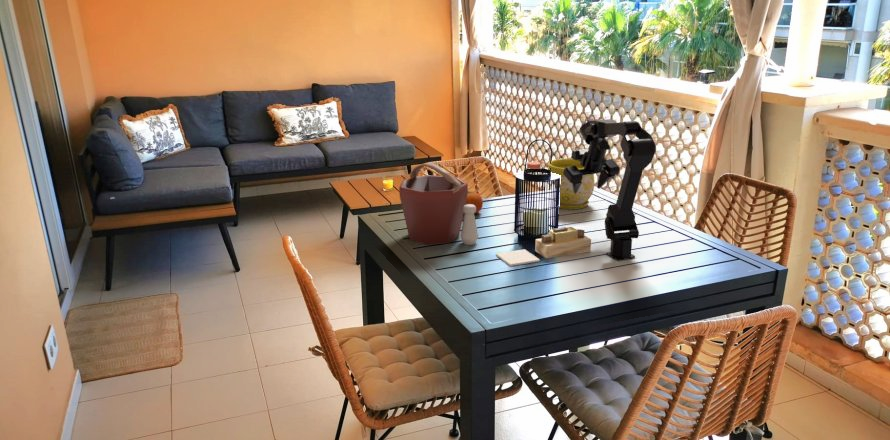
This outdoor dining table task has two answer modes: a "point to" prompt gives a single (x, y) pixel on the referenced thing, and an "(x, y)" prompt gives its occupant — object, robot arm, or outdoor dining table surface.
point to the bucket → (433, 205)
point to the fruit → (474, 200)
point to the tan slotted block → (563, 234)
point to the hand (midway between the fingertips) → (586, 190)
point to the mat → (517, 257)
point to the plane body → (562, 246)
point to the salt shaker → (469, 225)
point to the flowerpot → (566, 188)
